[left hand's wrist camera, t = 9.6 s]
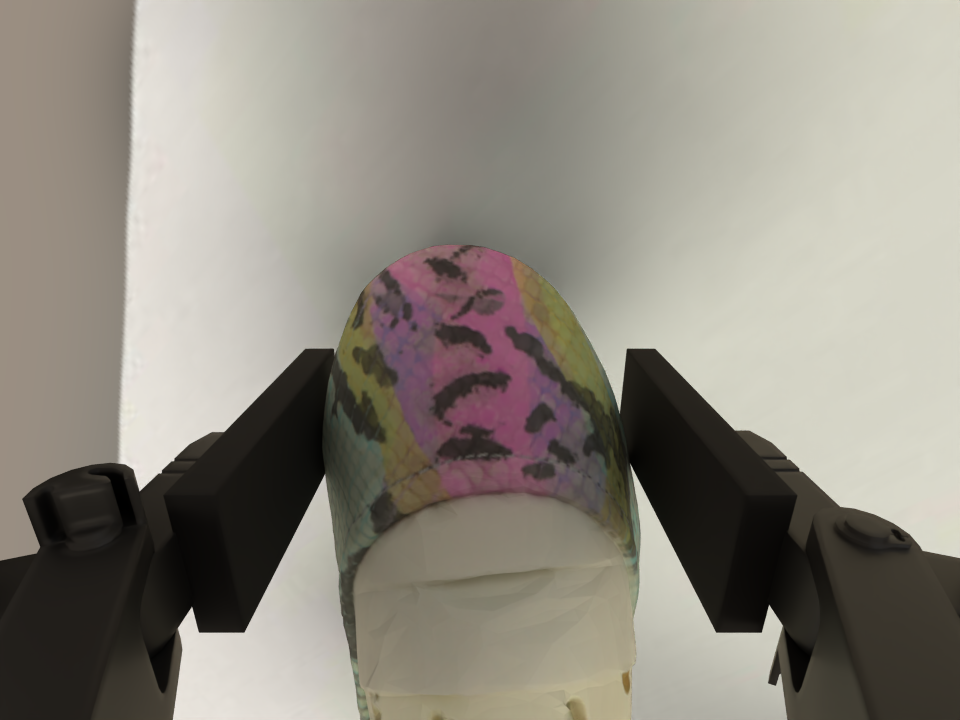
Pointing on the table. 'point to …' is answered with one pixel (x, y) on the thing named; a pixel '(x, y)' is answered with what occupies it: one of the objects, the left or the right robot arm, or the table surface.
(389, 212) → the table surface
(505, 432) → the ballet flat
